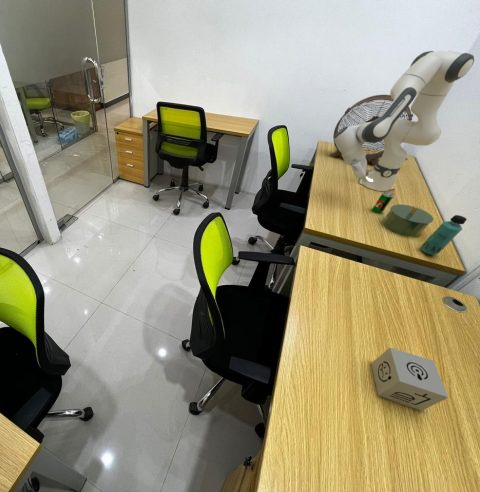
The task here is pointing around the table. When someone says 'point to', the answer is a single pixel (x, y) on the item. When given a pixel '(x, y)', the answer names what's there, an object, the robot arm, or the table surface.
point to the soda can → (382, 202)
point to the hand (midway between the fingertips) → (366, 178)
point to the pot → (402, 225)
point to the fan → (374, 156)
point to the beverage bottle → (443, 235)
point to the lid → (411, 214)
